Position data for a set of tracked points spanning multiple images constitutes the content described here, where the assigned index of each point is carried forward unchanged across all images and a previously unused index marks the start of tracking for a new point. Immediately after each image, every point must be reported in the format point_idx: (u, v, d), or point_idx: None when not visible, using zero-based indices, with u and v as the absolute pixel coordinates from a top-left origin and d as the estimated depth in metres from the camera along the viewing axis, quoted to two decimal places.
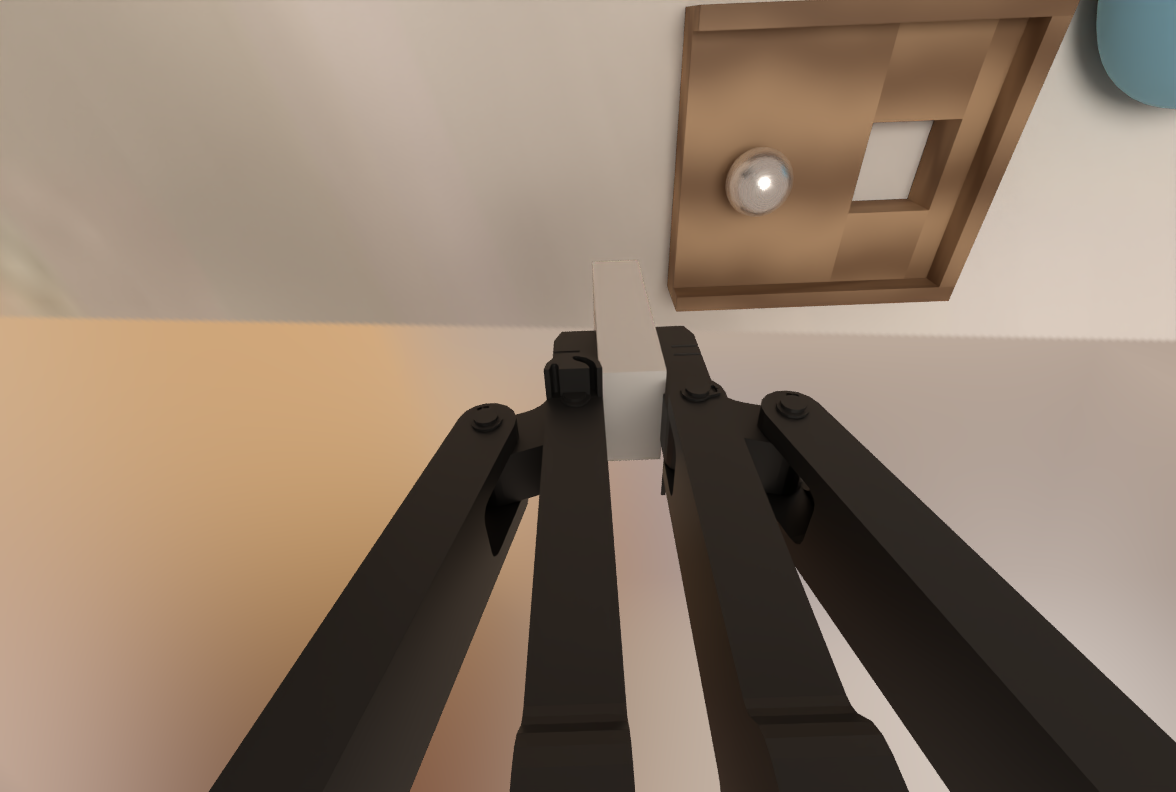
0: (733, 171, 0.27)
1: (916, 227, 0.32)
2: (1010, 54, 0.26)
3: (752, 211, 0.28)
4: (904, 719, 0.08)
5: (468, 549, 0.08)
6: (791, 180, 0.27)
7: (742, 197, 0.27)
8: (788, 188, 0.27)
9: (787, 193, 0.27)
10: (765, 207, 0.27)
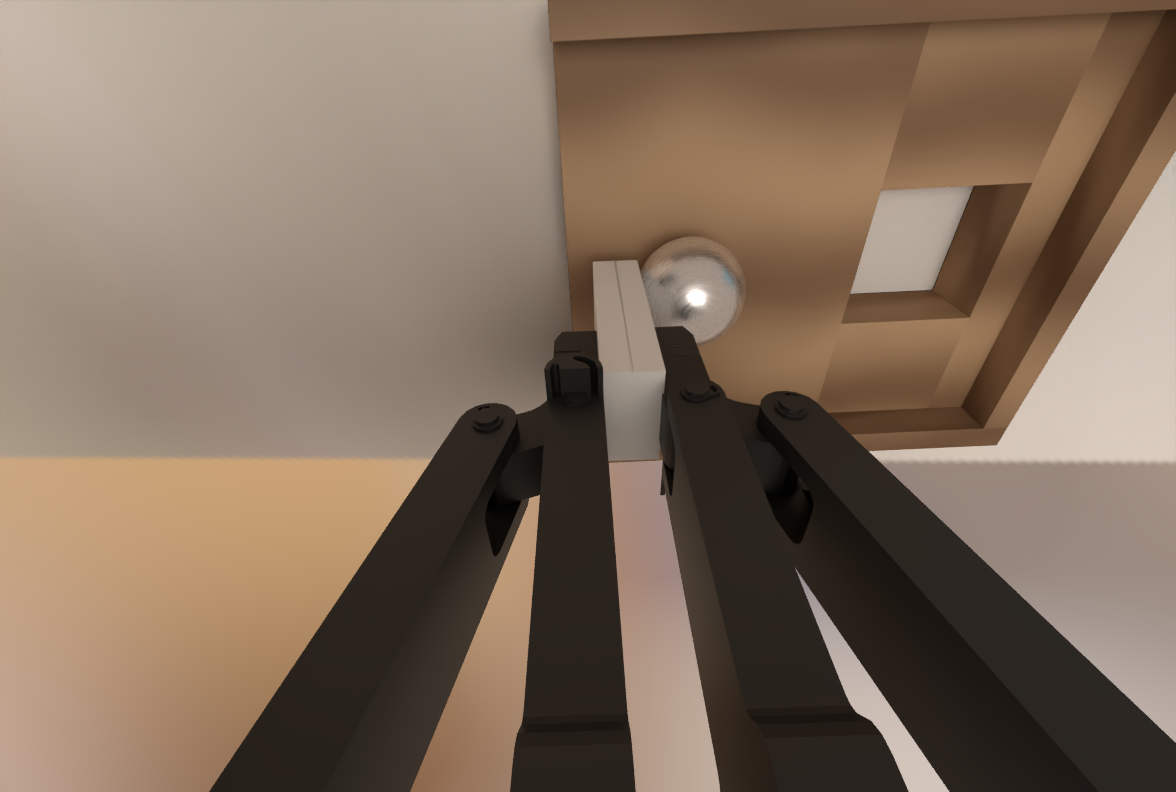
0: (643, 280, 0.16)
1: (948, 341, 0.20)
2: (1125, 75, 0.15)
3: None
4: (904, 719, 0.08)
5: (468, 549, 0.08)
6: (741, 296, 0.16)
7: (658, 324, 0.16)
8: (736, 309, 0.16)
9: (735, 316, 0.16)
10: (698, 339, 0.16)
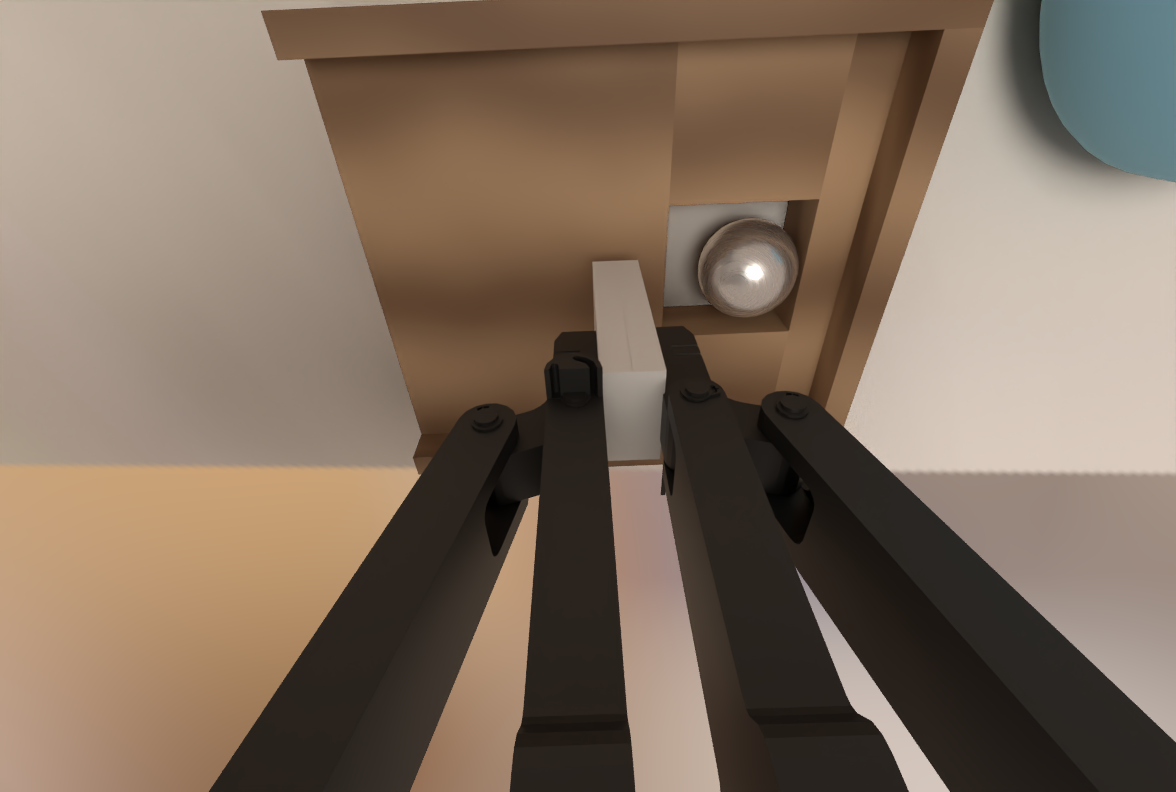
0: (703, 249, 0.19)
1: (773, 354, 0.20)
2: (886, 94, 0.15)
3: (722, 309, 0.19)
4: (904, 719, 0.08)
5: (468, 549, 0.08)
6: (782, 276, 0.17)
7: (705, 288, 0.19)
8: (774, 287, 0.17)
9: (773, 294, 0.18)
10: (735, 308, 0.18)
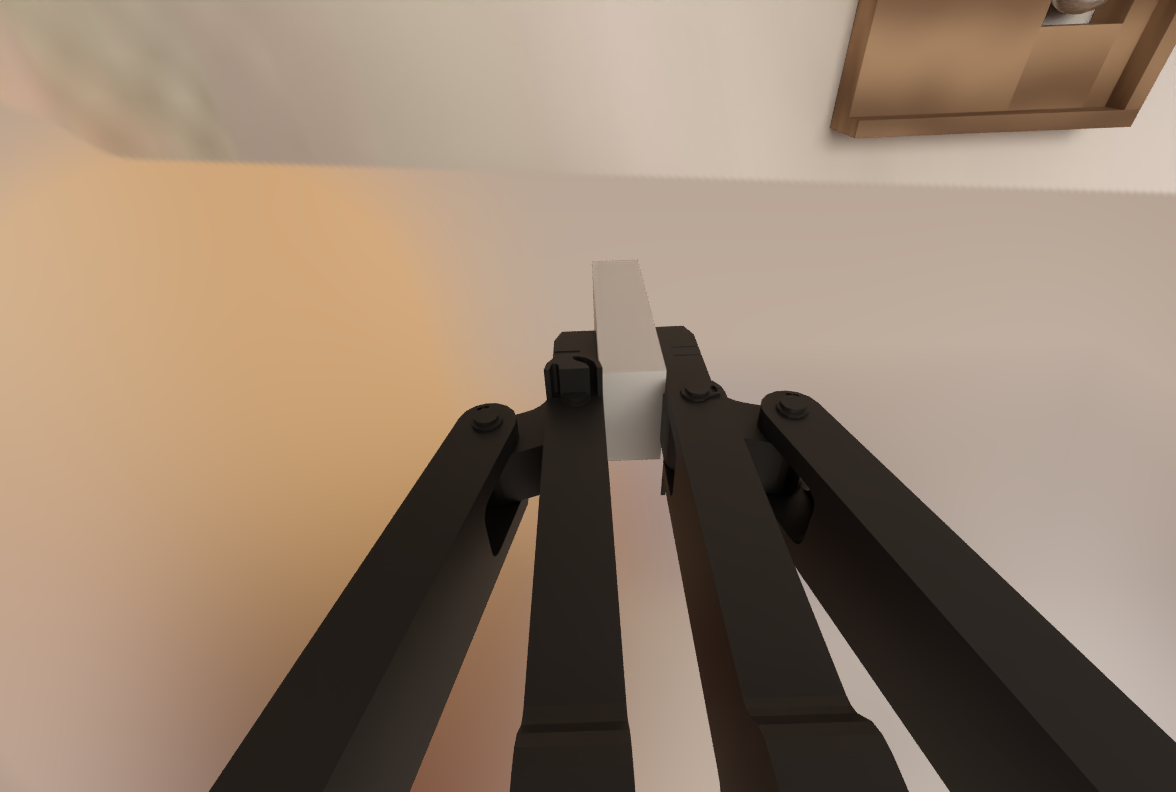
0: None
1: (1106, 44, 0.31)
2: None
3: (1062, 2, 0.30)
4: (904, 719, 0.08)
5: (468, 549, 0.08)
6: None
7: None
8: None
9: None
10: None
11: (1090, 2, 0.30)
